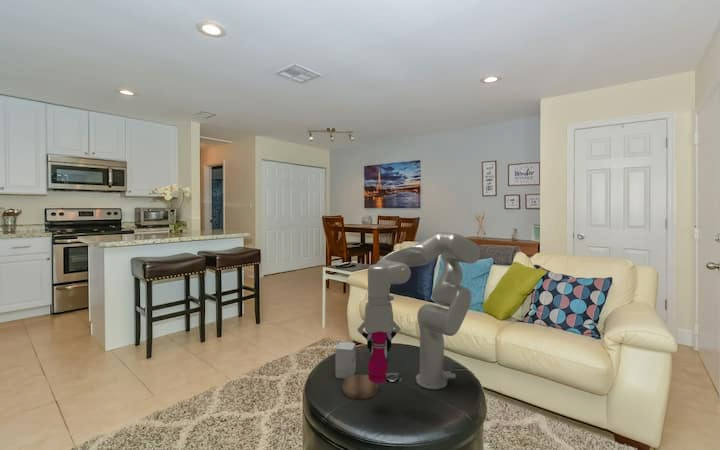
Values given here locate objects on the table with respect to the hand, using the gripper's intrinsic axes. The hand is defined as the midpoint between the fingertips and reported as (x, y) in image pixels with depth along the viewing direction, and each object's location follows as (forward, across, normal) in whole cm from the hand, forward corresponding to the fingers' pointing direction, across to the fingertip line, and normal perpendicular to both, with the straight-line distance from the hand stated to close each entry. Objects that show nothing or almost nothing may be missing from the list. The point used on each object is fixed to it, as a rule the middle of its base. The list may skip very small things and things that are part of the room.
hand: (379, 349), depth 126 cm
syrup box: (+22, -3, -38) cm, 44 cm away
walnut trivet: (+21, +7, -12) cm, 25 cm away
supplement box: (+22, +12, -24) cm, 35 cm away
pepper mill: (+11, +1, 0) cm, 11 cm away
